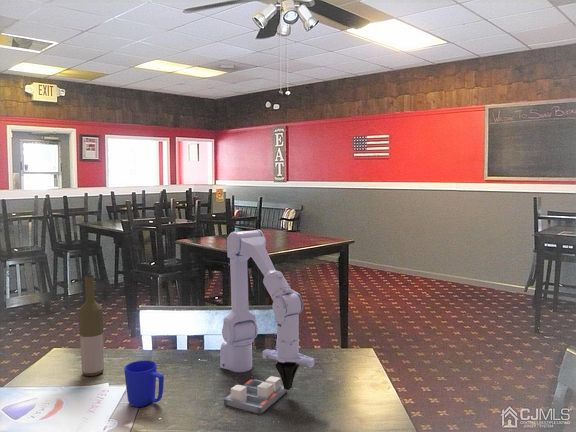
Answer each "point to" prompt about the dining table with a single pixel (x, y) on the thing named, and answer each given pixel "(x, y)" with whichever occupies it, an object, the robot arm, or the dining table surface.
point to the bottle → (91, 332)
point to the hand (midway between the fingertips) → (287, 388)
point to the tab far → (274, 382)
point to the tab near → (239, 393)
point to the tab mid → (264, 390)
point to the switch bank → (255, 398)
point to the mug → (142, 383)
